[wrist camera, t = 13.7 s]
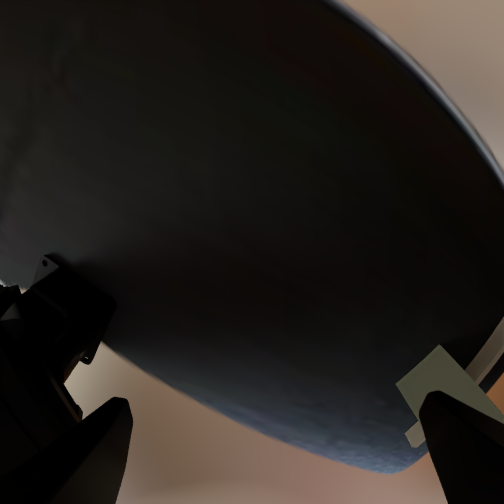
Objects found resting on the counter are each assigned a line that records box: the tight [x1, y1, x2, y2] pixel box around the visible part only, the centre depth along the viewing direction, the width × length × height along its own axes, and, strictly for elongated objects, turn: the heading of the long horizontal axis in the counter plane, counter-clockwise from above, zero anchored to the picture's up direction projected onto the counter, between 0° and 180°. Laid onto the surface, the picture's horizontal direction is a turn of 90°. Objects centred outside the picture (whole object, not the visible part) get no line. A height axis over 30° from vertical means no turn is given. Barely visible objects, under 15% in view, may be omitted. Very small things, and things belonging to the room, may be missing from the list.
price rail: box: [405, 317, 504, 448], centre depth 22 cm, size 17×2×2 cm, turn 147°
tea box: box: [396, 344, 504, 426], centre depth 17 cm, size 5×5×12 cm
